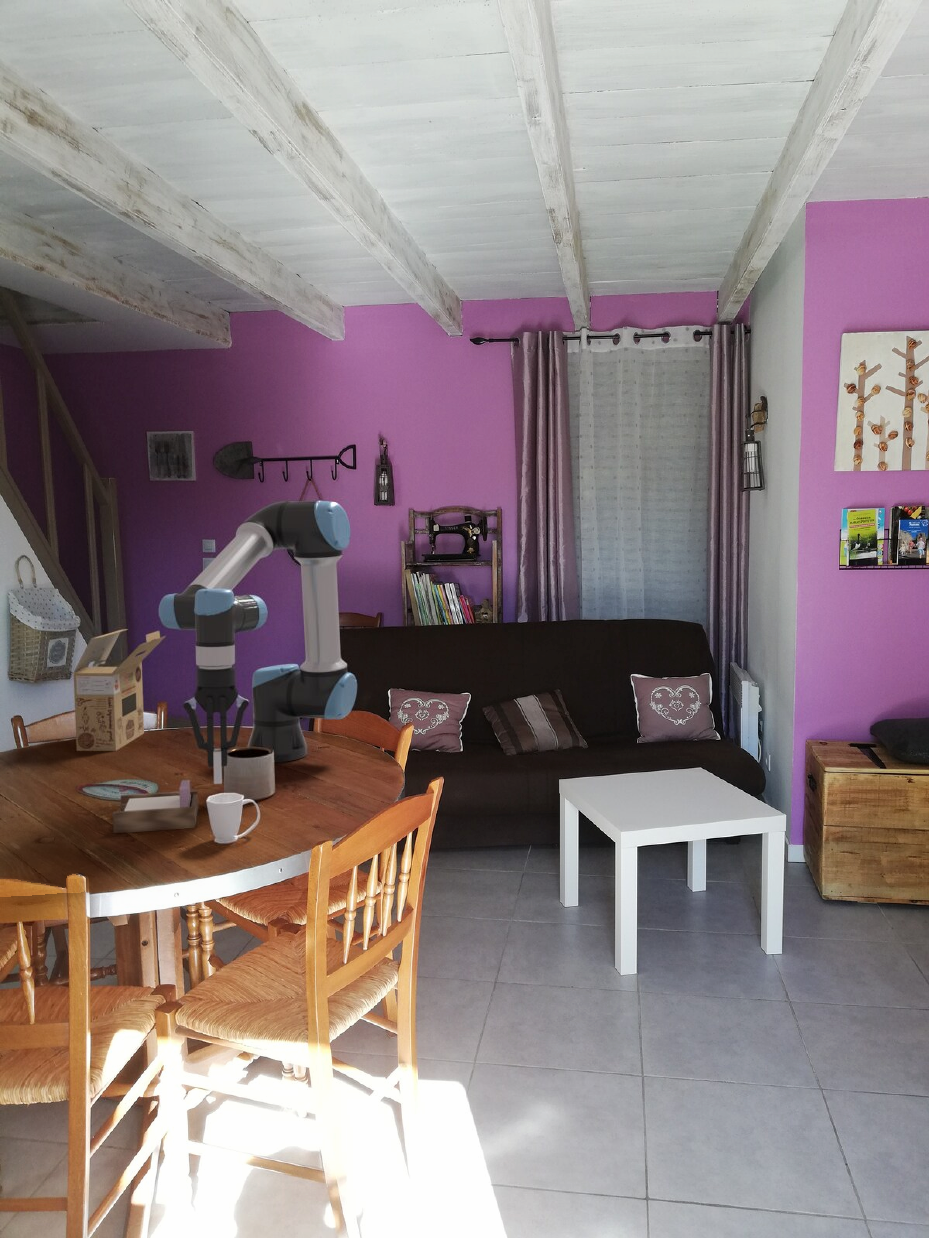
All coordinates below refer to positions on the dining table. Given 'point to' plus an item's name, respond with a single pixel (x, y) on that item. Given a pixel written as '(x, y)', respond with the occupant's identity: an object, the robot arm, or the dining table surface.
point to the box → (109, 694)
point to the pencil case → (155, 815)
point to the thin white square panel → (162, 800)
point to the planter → (250, 772)
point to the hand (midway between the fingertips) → (218, 781)
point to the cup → (227, 816)
